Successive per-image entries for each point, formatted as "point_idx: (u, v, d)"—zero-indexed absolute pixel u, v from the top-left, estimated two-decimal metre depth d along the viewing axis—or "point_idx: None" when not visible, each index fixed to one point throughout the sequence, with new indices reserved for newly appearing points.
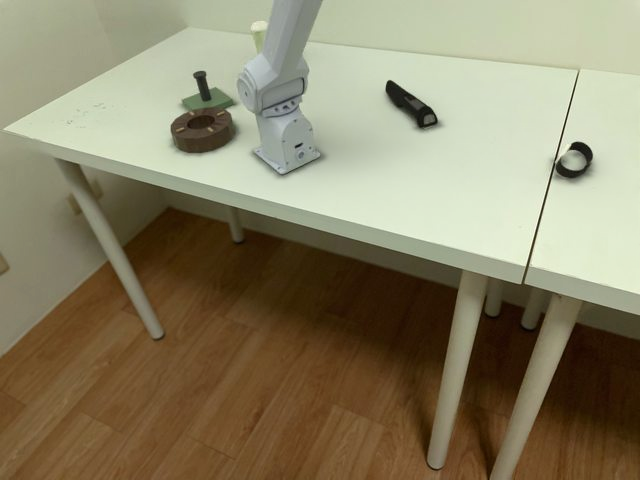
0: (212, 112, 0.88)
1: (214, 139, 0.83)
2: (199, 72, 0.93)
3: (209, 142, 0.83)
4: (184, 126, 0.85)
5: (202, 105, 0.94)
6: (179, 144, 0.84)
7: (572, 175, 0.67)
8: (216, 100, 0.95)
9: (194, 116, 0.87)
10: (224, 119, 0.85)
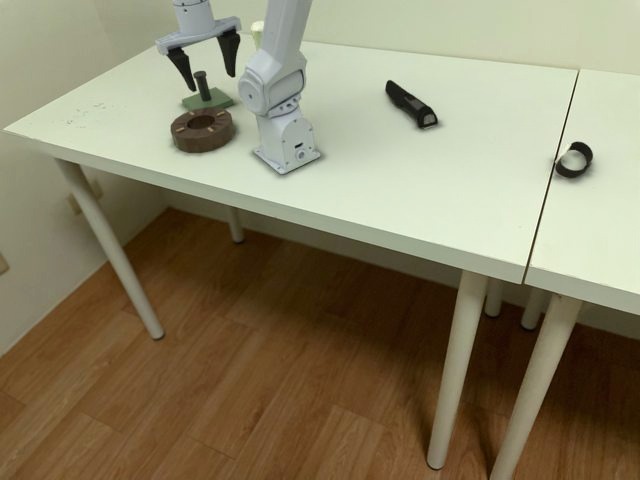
0: (212, 112, 0.88)
1: (214, 139, 0.83)
2: (199, 72, 0.93)
3: (209, 142, 0.83)
4: (184, 126, 0.85)
5: (202, 105, 0.94)
6: (179, 144, 0.84)
7: (572, 175, 0.67)
8: (216, 100, 0.95)
9: (194, 116, 0.87)
10: (224, 119, 0.85)
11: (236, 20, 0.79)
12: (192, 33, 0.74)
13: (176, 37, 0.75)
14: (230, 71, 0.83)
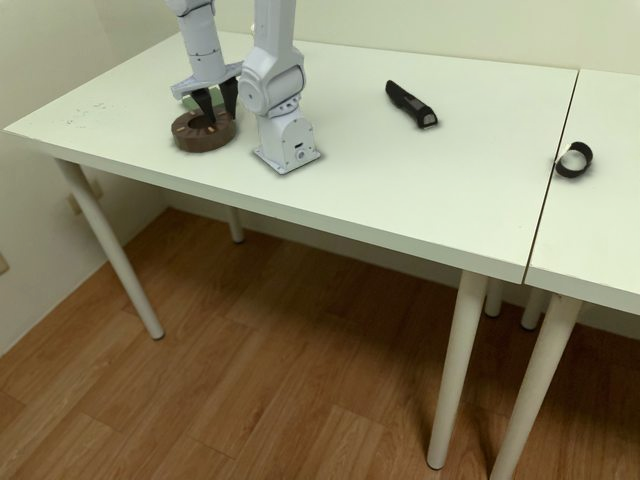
0: (213, 111, 0.88)
1: (215, 139, 0.83)
2: None
3: (210, 141, 0.83)
4: (185, 126, 0.85)
5: None
6: (180, 144, 0.84)
7: (572, 175, 0.67)
8: (216, 100, 0.95)
9: (195, 116, 0.88)
10: (225, 119, 0.85)
11: None
12: (205, 79, 0.80)
13: (190, 83, 0.80)
14: None
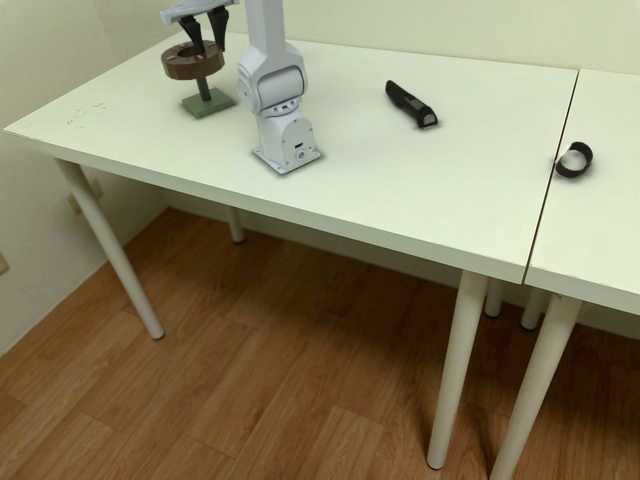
0: None
1: (204, 66, 0.84)
2: None
3: (199, 68, 0.84)
4: (174, 55, 0.86)
5: (202, 105, 0.94)
6: (169, 72, 0.85)
7: (572, 175, 0.67)
8: (216, 100, 0.95)
9: (184, 47, 0.89)
10: (214, 49, 0.87)
11: None
12: (194, 5, 0.81)
13: (179, 9, 0.82)
14: None
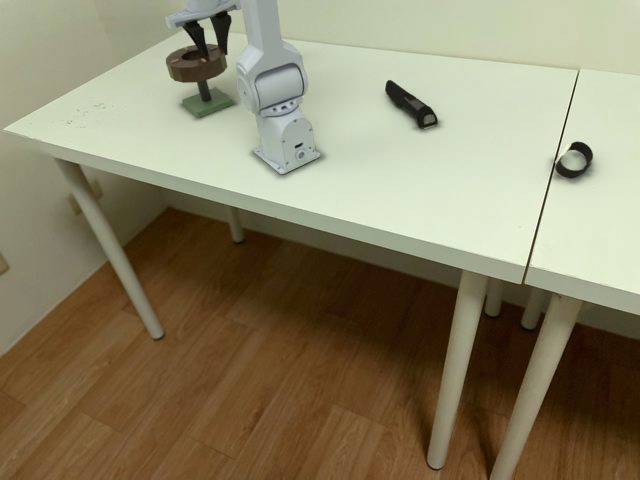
0: None
1: (207, 69, 0.87)
2: None
3: (203, 71, 0.87)
4: (179, 58, 0.89)
5: (202, 105, 0.94)
6: (174, 74, 0.88)
7: (572, 175, 0.67)
8: (216, 100, 0.95)
9: (188, 51, 0.92)
10: (217, 52, 0.90)
11: (236, 0, 0.88)
12: (197, 10, 0.84)
13: (183, 14, 0.85)
14: None
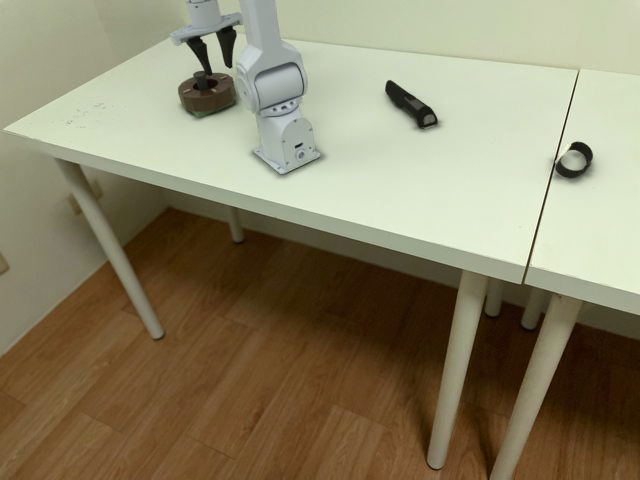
0: (216, 76, 0.97)
1: (218, 99, 0.92)
2: (199, 72, 0.93)
3: (213, 101, 0.91)
4: (190, 88, 0.94)
5: None
6: (186, 104, 0.93)
7: (572, 175, 0.67)
8: None
9: None
10: (226, 82, 0.94)
11: (240, 15, 0.90)
12: (202, 26, 0.86)
13: (188, 30, 0.87)
14: (227, 62, 0.94)
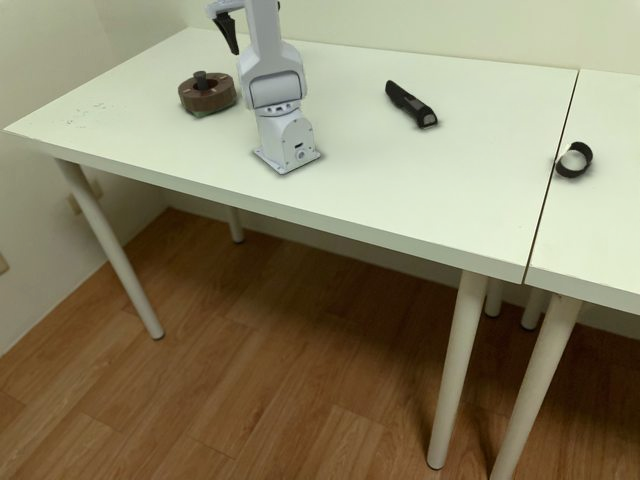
0: (216, 76, 0.97)
1: (217, 99, 0.92)
2: (199, 72, 0.93)
3: (213, 101, 0.91)
4: (190, 88, 0.94)
5: None
6: (186, 104, 0.93)
7: (572, 175, 0.67)
8: None
9: None
10: (226, 82, 0.94)
11: None
12: None
13: (223, 2, 0.82)
14: None
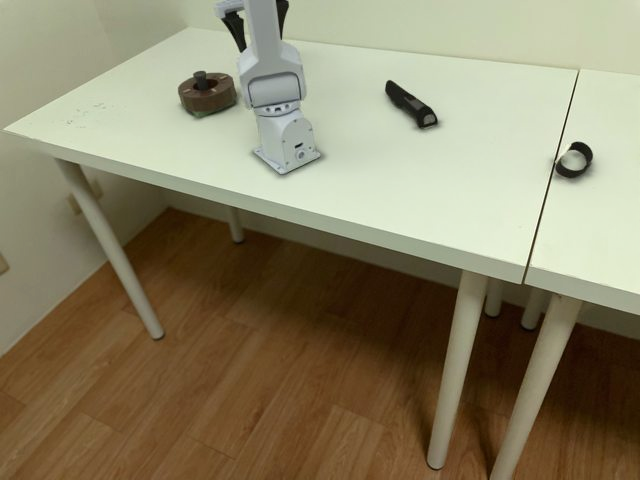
0: (216, 76, 0.97)
1: (217, 99, 0.92)
2: (199, 72, 0.93)
3: (213, 101, 0.91)
4: (190, 88, 0.94)
5: None
6: (186, 104, 0.93)
7: (572, 175, 0.67)
8: None
9: None
10: (226, 82, 0.94)
11: None
12: None
13: (232, 2, 0.82)
14: None
